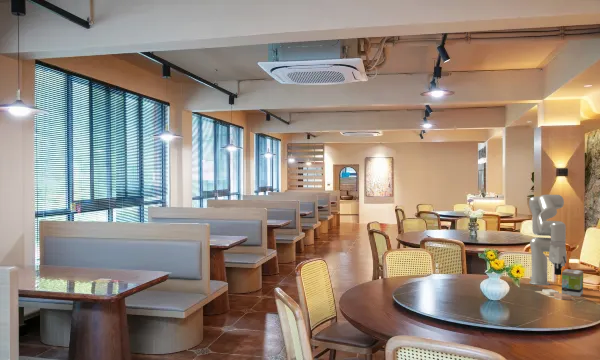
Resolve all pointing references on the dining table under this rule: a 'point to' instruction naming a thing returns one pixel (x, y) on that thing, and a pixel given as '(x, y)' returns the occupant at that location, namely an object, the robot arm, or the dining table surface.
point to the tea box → (572, 282)
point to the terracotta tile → (562, 296)
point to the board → (552, 296)
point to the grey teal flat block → (549, 291)
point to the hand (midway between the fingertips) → (557, 274)
